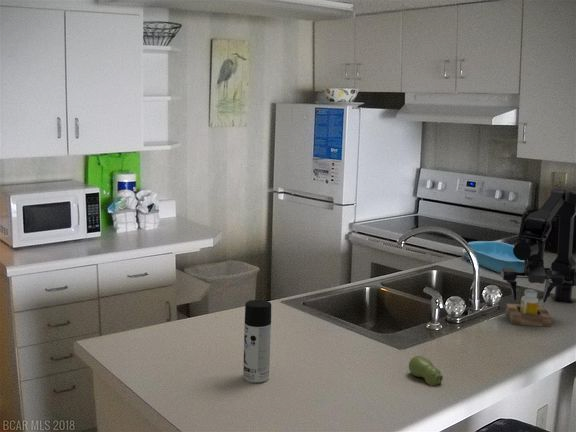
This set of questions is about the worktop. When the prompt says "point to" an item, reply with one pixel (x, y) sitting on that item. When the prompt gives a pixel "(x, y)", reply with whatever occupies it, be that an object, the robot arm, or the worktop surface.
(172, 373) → the worktop surface
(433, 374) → the pear
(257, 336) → the spray can
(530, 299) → the supplement bottle
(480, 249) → the casserole dish
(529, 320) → the walnut jig
